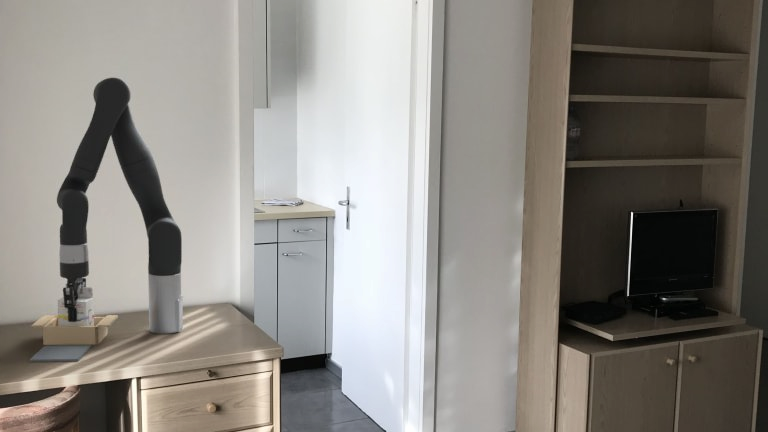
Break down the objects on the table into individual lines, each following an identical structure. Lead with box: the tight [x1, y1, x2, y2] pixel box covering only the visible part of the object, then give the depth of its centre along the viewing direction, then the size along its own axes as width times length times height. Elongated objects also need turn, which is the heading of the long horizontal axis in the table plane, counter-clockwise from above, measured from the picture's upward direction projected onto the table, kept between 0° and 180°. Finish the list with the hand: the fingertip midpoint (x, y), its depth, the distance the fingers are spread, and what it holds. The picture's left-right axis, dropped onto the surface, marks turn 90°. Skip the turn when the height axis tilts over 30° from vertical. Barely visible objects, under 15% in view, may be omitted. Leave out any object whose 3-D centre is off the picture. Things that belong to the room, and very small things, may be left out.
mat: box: [29, 345, 92, 363], centre depth 208 cm, size 12×12×1 cm
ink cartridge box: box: [57, 286, 95, 326], centre depth 221 cm, size 9×5×15 cm, turn 84°
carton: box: [31, 314, 119, 346], centre depth 222 cm, size 21×11×6 cm, turn 96°
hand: (75, 318), depth 221 cm, fingers closed on ink cartridge box, 5 cm apart
